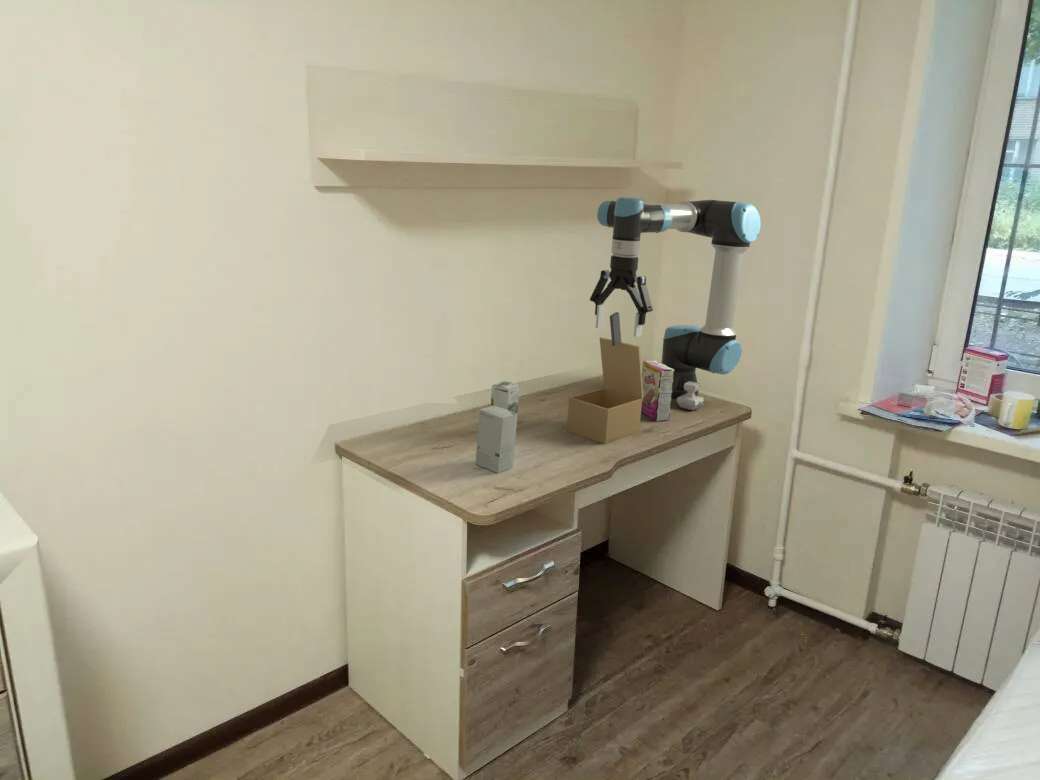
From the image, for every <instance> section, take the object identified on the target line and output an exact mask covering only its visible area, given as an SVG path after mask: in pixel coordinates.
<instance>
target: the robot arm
mask: <svg viewBox="0 0 1040 780" xmlns="http://www.w3.org/2000/svg"><path fill="white" fill-rule="evenodd" d="M596 218H597V220H598V222H599V224H600V225H601V226H603V227H607V228H612V231H613V232H612V243H611V254H612V255H611V256H610V263H609V268H610V270H609V269H604V270H601V271H600V276H599V279H598V281H597V283H596V285H595V287H594V290H593V292H592V294H591V296H590V297H589V301H590V302H592V303H594V304H595V306H594V307H595V309H594V316H596V317H595V318H596V319H595V328H596V329H600V328H604V324H605V316H606V315H605V313H606V304H605V301H606V300H607V299H608V298H609V297H610V295H611V294H612V293H613V292H614V291H615V290H619V289H620V290H622V291H626V292H627V293H628V295H629V296H630V298H631V300H632V302H633V305H634V306H635V308H636V310H637V312H636V313H635V317H634V327H633V328H634V329H633V337H635V338H637V337H641V336H642V333H643V326H644V325H645V324H646V317H647V316H646V315H647V313H651V312H653V311H654V309H653V304H652V301H651V297H650V294H649V290H648V288H647V287H648V286H647V276H645V275H643V276H641V275H640V276H638V275H637V270H638V267H639V257H638V255H639V254H640V245H641V244H640V243H641V234H644V233H649V234H650V233H656V234H659V233H663V232H665V231H666V232H667V230H669V229H670V230H676V231H678V232H680V233H687V234H688V233H689V234H694V235H697V236H702V237H705V238H711V246H712V247H713V248H714V251H715V252H714V260H713V266H712V267H713V268H712V274H711V280H710V288H709V294H708V302H707V303H708V304H707V310H706V316H705V324H704V325H703V326H702V327H700V326H698V325H692V324H689V325H688V324H685V325H684V324H681V325H670V326H668V327H667V328H666V329H665V330H664V335H663V339H662V341H663V343H662V354H661V363H662V364H664V365H666V366H668V367H670V368H672V369H674V377H673V387H672V397H671V398H673V399H677V398H678V397H680V396H682V395H684V394H686V393H687V391H686V390H684V384H685V383H687V382H689V381H692V382H696V383H699V382H698V379H697V378H698V377H697V373H696V370H697V369H700V370H703V371H706V372H709V373H712V374H717V375H727V374H729V373H730V372H732V371H733V370H734V369H735V367H737V365H738V364H739V362H740V359H741V358H742V357H741V356H742V351H743V350H742V349H743V348H742V345H741V343H740V342H739V341H738V340H737V332H736V330H735V329H734V328H733V326H734V319H735V312H736V305H737V299H738V292H739V284H740V280H741V279H740V277H741V272H742V266H743V257H744V253H745V252H746V251H747V250H748V249H750V245H751V243H753V242H755V241H756V240H757V238H758V236H759V234H760V233H761V223H762V221H761V216H760V213H759V211H758V209H757V207H755V206H754V205H753V204H751V203H747V202H741V201H729V200H716V199H703V200H693V201H692V200H691V201H690V200H688V201H687V200H684V201H680V202H678V203H661V202H660V203H657V202H644V199H642V198H640V197H629V196H628V197H627V196H626V197H625V196H623V197H618V198H617V199H616V200H604V201H602V202H601V203H600V205H599V207H598V209H597V213H596ZM609 279H610V281H609ZM608 281H609V283H608ZM607 283H608V284H607ZM606 285H607V286H606ZM699 390H700V389H699ZM699 390H698V391H696V392H695V395H696V396H699V392H700V391H699Z"/></svg>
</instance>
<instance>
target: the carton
mask: <svg viewBox="0 0 1040 780" xmlns="http://www.w3.org/2000/svg"><path fill="white" fill-rule="evenodd" d="M641 407H642V399H640V398H638V397H634V396H631V395H627V394H624V393H620V392H617V391H614V390H610V389H607V388H604V387H601V388H599V389H595V390H591V391H587V392H584V393H581V394H577V395H574V396H570V397H568V409H567V410H568V411H567V422H566V424H567V425H566V432H569V431H570V433H572V432H573V433H572V434H575V433H576V434H575V435H578V436H581V437H583V436H584V437H583V438H586V437H587V438H586V439H589V438H590V440H592V439H593V441H595V440H596V441H595V442H598V441H599V443H601V444H604V443H605V444H604V445H606V443H607V444H609V442H610V443H612V441H613V442H615V441H617V440H621V439H623V437H624V438H626V437H629V436H632V435H634V434H637V433H640V427H641V418H642V417H641V416H642V412H641ZM620 438H621V439H620Z"/></svg>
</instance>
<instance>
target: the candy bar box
mask: <svg viewBox="0 0 1040 780" xmlns="http://www.w3.org/2000/svg"><path fill="white" fill-rule="evenodd" d="M641 370H642V384H643V399H642V407H641V414H644V415H645V416H647V417H648V418H650V419H652V420H653V421H655V422H665V421H666V422H667V421H670V415H671V414H670V413H671V407H672V406H671V405H672V398H673V397H672V387H673V377H674V369H672V368H670V367H668V366H666V365H664V364H662V362H659V361H658V360H656V359H655V360H653V359H652V360H651V359H649V360H643V361H642V366H641ZM640 399H641V398H640Z"/></svg>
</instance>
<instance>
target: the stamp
mask: <svg viewBox="0 0 1040 780" xmlns="http://www.w3.org/2000/svg"><path fill="white" fill-rule="evenodd" d="M700 388H701V383H700V382H698V383H696V382H692V381H689V382H687V383H685V384H684V390H686V391H687V393H686V394H684V395H682V396H680V397H678V398H676V403H677V404H678V406H679V408H682V409H685V410H688V411H694V410H696V409H698V408H702V407H703V406H704V402H705V399H704V397H703V396H699V395H697V396H696V395H695V392H696V391H698V390H700ZM698 392H699V391H698Z"/></svg>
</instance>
